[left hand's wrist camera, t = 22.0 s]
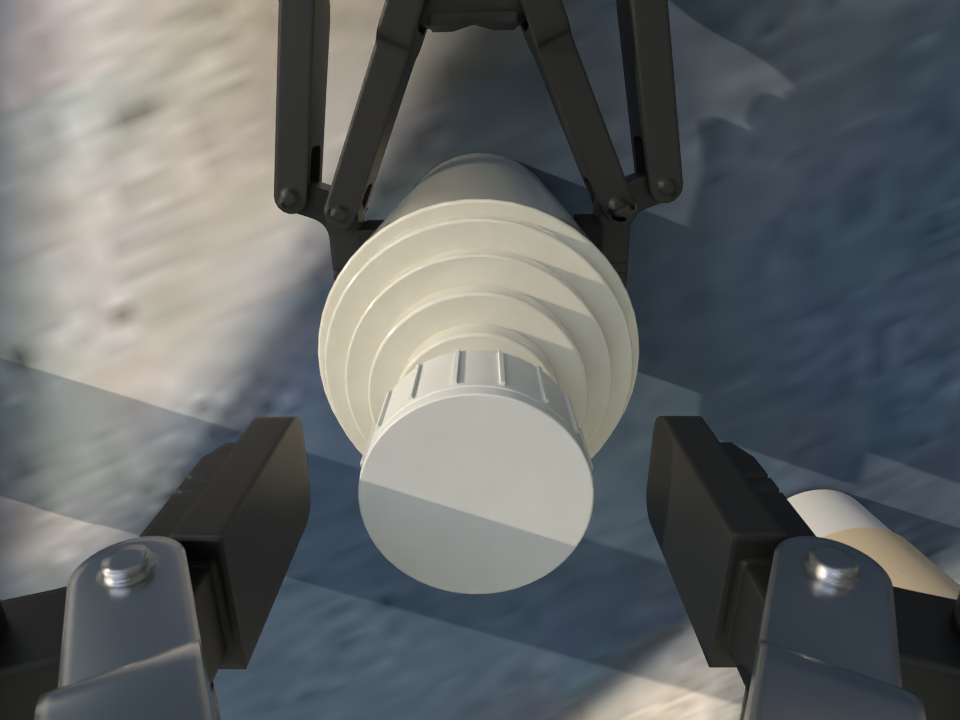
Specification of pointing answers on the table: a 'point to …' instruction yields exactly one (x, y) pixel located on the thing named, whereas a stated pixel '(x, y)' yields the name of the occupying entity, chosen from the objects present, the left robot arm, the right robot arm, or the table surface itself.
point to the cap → (476, 474)
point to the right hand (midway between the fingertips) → (483, 371)
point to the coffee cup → (872, 541)
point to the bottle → (479, 296)
